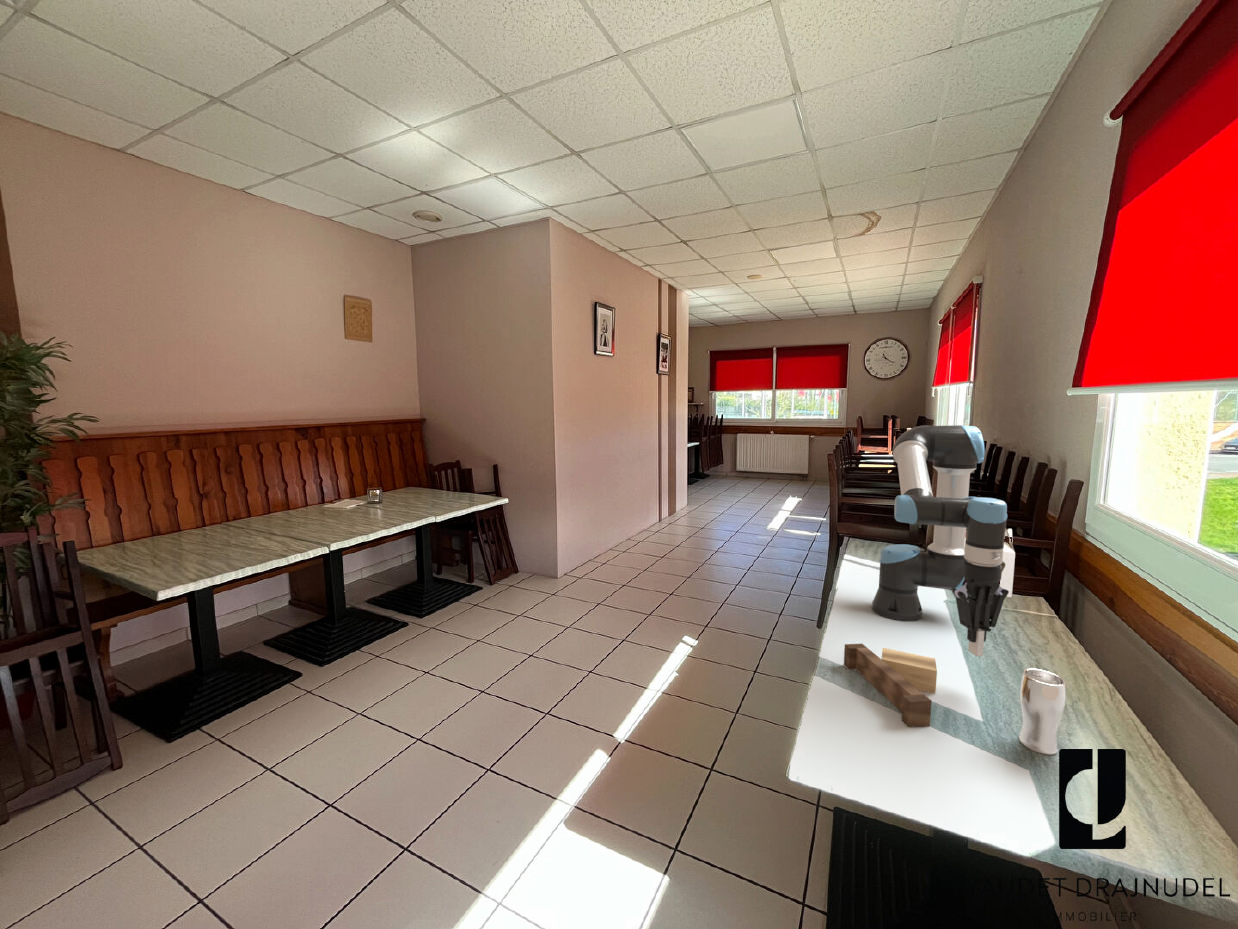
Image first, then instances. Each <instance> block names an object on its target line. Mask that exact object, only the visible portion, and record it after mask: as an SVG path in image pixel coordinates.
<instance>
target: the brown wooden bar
mask: <svg viewBox="0 0 1238 929" xmlns="http://www.w3.org/2000/svg"><path fill="white" fill-rule="evenodd" d="M843 650H844V652H843V653H844V654H843V656H844V657H843V666H844V665H845V666H846V667H847V668H848V669H852V670H856V671H857V672H858V673H859V674H860V675H861V676H862V675H863V676H864V677H865V678H866V679H865V678H864V677H863V676H862V677H863V678H864V679H865V680H866V681H868V682H869V684H871V686H873V687H874V689H876V690H877V691H878V692H879V693H881V695H882V696H884V698H886V700H888V701H889V702H890V703H891V704H892V705H893V706H894V707H895V708H896V709H897V710H898V711H900V712H901V720H900V721H901V722H902V723H903V724H904V725H905V726H906V727H907V728H921V727H923V728H924V727H931V716H932V715H931V714H932V700H931V699H930V698H929V697H928V696H927V695H925V694H924V693H923V692H922V691H921V690H919V689H917V688H916V687H914V686H913V685H912V684H911V683H910V682H908V681H907V680H906V679H905V678H903V677H902V676H901V675H900V674H899V673H897V672H896V671H895V670H894V669H893V668H891V667H890V666H889V665H888V664H886V663H885V662H884V661H883V660H882V658H881V657H879V656H878V655H877V654H876V653H874V652H873V651H872V650H870V649H869V648H868V647H867V646H866V645H865V644H864V643H846V644H845V643H844V649H843ZM845 666H844V667H845ZM846 667H845V668H846ZM847 668H846V669H847ZM848 669H847V670H848Z"/></svg>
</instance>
